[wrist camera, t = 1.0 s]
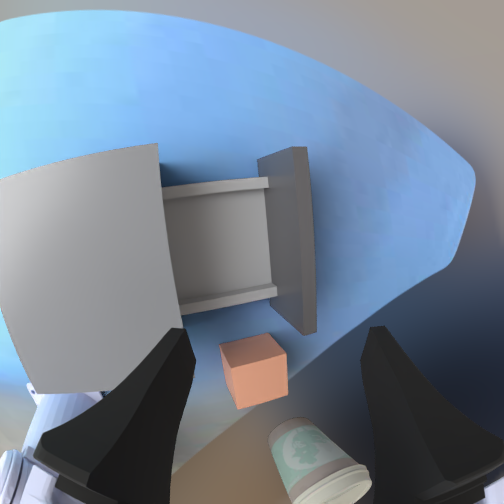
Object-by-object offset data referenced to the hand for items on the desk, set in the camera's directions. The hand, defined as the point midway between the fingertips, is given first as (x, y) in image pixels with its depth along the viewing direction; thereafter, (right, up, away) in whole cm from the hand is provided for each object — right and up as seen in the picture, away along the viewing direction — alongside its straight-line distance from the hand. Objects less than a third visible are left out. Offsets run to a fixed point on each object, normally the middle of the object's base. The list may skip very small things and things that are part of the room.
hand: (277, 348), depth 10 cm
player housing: (-12, +3, +8) cm, 15 cm away
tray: (-4, +4, +10) cm, 12 cm away
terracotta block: (-2, -6, +14) cm, 15 cm away
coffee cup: (+3, -18, +18) cm, 26 cm away
